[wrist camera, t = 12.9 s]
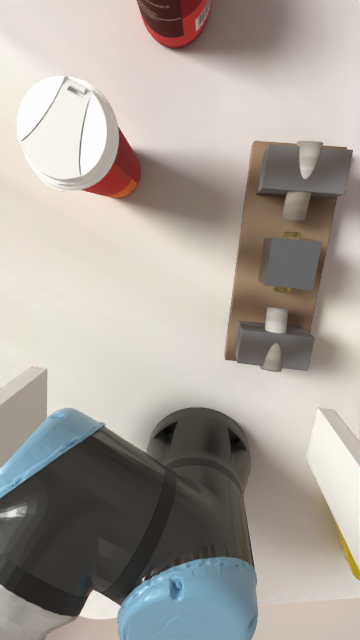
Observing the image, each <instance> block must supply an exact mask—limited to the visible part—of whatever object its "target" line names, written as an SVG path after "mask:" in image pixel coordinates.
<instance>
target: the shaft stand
mask: <svg viewBox="0 0 360 640" xmlns="http://www.w3.org/2000/svg"><path fill="white" fill-rule="evenodd" d="M322 145H323V143H322V142H314V141H298V142H297V144H291V143H276V142H261V141H254V143H253V145H252V149H251V156H250V164H249V171H248V179H247V187H246V194H245V202H244V209H243V217H242V225H241V232H240V240H239V248H238V255H237V263H236V270H235V278H234V286H233V293H232V301H231V309H230V316H229V324H228V331H227V339H226V347H225V354H224V355H225V360H232V361H237V363H243V364H252V365H260V368H261V369H263V370H267V371H273V372H281V370H282V368H287V369H296V370H304V371H308V366H309V361H310V356H311V352H312V347H313V342H314V337H313V336H312V335H311V334H310V328H311V323H312V318H313V313H314V308H315V304H316V299H317V294H318V289H319V284H320V279H321V274H322V269H323V264H324V259H325V254H326V249H327V244H328V239H329V234H330V229H331V224H332V219H333V214H334V209H335V204H336V199H337V197H338V196H340V195H343V194H344V191H345V186H346V182H347V177H348V172H349V167H350V162H351V157H352V152H353V150H347V147H335V146H322ZM284 231H289V232H300V233H301V236H300V240H309V241H320V242H322V246H321V251H320V256H319V261H318V266H317V271H316V276H315V281H314V286H313V290H305V289H295V288H291V291H290V293H281V292H276V291H274V288H275V286H266V285H264V284H262V283H261V282H260V281H259V280H258V276H259V269H260V262H261V256H262V249H263V243H264V238H269V237H276V238H283V234H284Z"/></svg>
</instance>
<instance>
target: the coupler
mask: <svg viewBox="0 0 360 640" xmlns="http://www.w3.org/2000/svg"><path fill="white" fill-rule="evenodd" d="M300 236H301V233H300V232H289V231H284V234H283V238H276V237H269V238H264V243H263V249H262V256H261V262H260V269H259V276H258V280H259V281H260V282H261V283H262V284H264V285H266V286H275V288H274V291H276V292H281V293H290V291H291V288H295V289H305V290H313V286H314V281H315V276H316V271H317V266H318V261H319V256H320V251H321V246H322V242H320V241H309V240H300Z"/></svg>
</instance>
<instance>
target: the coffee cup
mask: <svg viewBox="0 0 360 640" xmlns="http://www.w3.org/2000/svg"><path fill="white" fill-rule="evenodd" d="M17 132H18V138H19V142H20V144H21V146H22V148H23V150H24V153H25V156H26V158H27V160H28V162H29V163H30V165H31V167H32V168H33V169H34V171H35V172H36V173H37V174H38V176H39V177H40V178H41V180H42V181H43V182H44V183H46V184H47V185H49V186H51V187H53V188H55V189H57V190H61V191H72V190H84V191H87V192H91V193H95V194H99V195H103V196H107V197H112V198H122V197H125V196H127V195H129V194H131V193H132V192H133V191H134V190H135V188H136V187H137V185H138V183H139V180H140V166H139V162H138V160H137V158H136V156H135V154H134V152H133V150H132V149H131V147H130V145H129V143H128V142H127V140H126V138H125V137H124V135H123V133H122V132H121V130H120V128H119V127H118V124H117V120H116V117H115V114H114V111H113V109H112V107H111V105H110V104H109V102H108V100H107V99H106V98H105V97H104V95H103V94H102V93H101V92H100V91H99V90H98V89H97V88H96V87H94V86H93V85H91V84H90V83H88V82H86V81H84V80H81V79H78V78H74V77H66V76H54V77H49V78H46V79H43V80H41V81H40V82H38V83H36V84H35V85H34V86H33V87H32V88H31V89H30V90H29V91H28V92H27V93H26V95H25V97H24V98H23V100H22V103H21V105H20V108H19V112H18V117H17Z"/></svg>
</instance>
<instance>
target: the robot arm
mask: <svg viewBox="0 0 360 640" xmlns="http://www.w3.org/2000/svg"><path fill="white" fill-rule="evenodd" d="M105 425H106V424H104V423H103V422H101V423H99V422H97V421H96V420H94V419H92V418H90V417H89V416H87V415H85V414H83V413H82V412H80V411H78V410H76V409H72V408H64V409H60V410H58V411H56V412H54V413H53V414H51V415H50V416H48V417H47V369H46V368H39V367H31V368H29V369H28V370H27V371H25V372H24V373H22V374H21V375H19V376H18V377H16V378H15V379H14V380H12V381H11V382H9V383H8V384H6V385H5V386H3V387H2V388H0V640H45V638H46V636H47V635H48V634H49V633H50V632H51V631H53V630H55V629H57V628H59V627H61V626H63V625H66V624H68V623H70V622H72V621H74V620H76V618H77V617H78V616H79V614H80V612H81V610H82V608H83V606H84V604H85V602H86V600H87V598H88V596H89V595H90V593H91V592H92V590H95V591H97V592H99V593H101V594H103V595H105V596H106V597H108V598H110V599H111V600H112V601H114V602H116V603H117V604H119V605H120V606H121V608H120V609H119V612H118V618H117V619H118V633H119V638H120V640H251V639H252V637H253V634H254V632H255V629H256V625H257V617H258V609H257V596H256V584H257V578H256V573H255V568H254V561H253V555H252V549H251V543H250V536H249V530H248V524H247V518H246V511H245V505H244V498H243V494H244V490H245V487H246V483H247V480H248V476H249V472H250V466H251V458H250V452H249V446H248V442H247V439H246V437H245V435H244V433H243V431H242V430H241V429H240V427H239V426H238V425H237V424H236V423H235V422H234V421H233V420H232V419H230V418H229V417H227V416H226V415H224V414H222V413H220V412H217V411H215V410H211V409H207V408H186V409H182V410H178V411H176V412H173V413H171V414H170V415H168V416H166V417H165V418H164V419H163V420H161V421H160V422H159V424H158V425H157V426H156V427H155V429H154V431H153V433H152V435H151V438H150V441H149V445H148V448H147V454H146V453H145V452H143V451H142V450H140V449H138V448H137V447H135V446H134V445H132V444H131V443H129V442H127V441H126V440H124V439H123V438H121V437H120V436H118V435H117V434H115V433H114V432H112V431H111V430H109V429H108V428H106V427H105ZM306 460H307V462H308V464H309V466H310V468H311V470H312V472H313V474H314V477H315V479H316V481H317V483H318V485H319V487H320V489H321V491H322V493H323V495H324V497H325V500H326V502H327V504H328V506H329V508H330V510H331V512H332V514H333V516H334V518H335V520H336V523H337V525H338V527H339V529H340V531H341V533H342V535H343V537H344V539H345V541H346V543H347V546H348V548H349V550H350V552H351V554H352V556H353V558H354V560H355V562H356V564H357V566H358V568H359V571H360V441H359V440H358V439H357V437H356V436H355V435H354V434H353V432H352V431H351V430H350V429H349V427H348V426H347V425H346V424H345V422H344V421H343V420H342V419H341V417H340V416H339V415H338V414H337V412H336V411H335V410H331V409H324V408H318V410H317V414H316V418H315V422H314V426H313V430H312V434H311V438H310V443H309V447H308V451H307V455H306Z"/></svg>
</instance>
